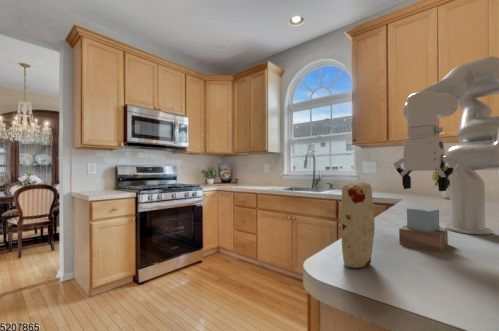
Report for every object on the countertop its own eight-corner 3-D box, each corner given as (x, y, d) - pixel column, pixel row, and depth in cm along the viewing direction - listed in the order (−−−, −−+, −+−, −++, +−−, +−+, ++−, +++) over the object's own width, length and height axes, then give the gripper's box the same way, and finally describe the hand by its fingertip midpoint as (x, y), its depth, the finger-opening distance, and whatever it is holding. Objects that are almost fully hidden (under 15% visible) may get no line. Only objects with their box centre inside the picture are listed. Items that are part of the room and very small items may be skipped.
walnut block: (409, 238, 82) (409, 223, 82) (447, 245, 74) (447, 228, 74) (399, 245, 75) (399, 228, 75) (440, 253, 68) (440, 234, 68)
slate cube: (417, 225, 79) (417, 206, 79) (439, 229, 73) (439, 209, 73) (407, 228, 76) (406, 208, 76) (429, 232, 70) (429, 211, 70)
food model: (360, 275, 54) (359, 183, 54) (333, 265, 59) (332, 181, 59) (381, 264, 60) (380, 181, 60) (354, 256, 65) (353, 180, 65)
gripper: (463, 130, 69) (464, 190, 70) (400, 137, 84) (401, 187, 85) (450, 129, 66) (452, 193, 66) (387, 136, 81) (388, 188, 81)
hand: (423, 189), depth 75 cm, fingers open, 9 cm apart
